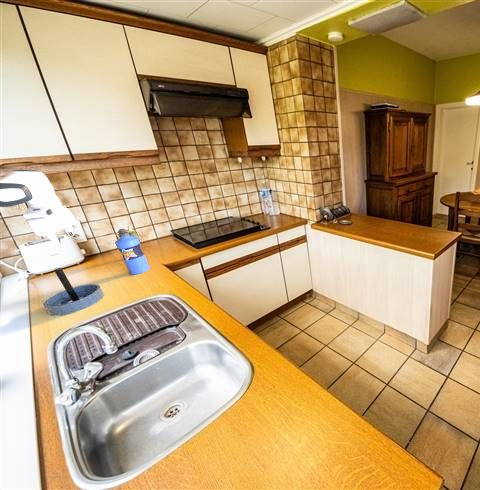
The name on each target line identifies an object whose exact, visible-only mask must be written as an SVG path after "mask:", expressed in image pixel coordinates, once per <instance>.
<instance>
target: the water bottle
mask: <svg viewBox="0 0 480 490" xmlns="http://www.w3.org/2000/svg"><path fill="white" fill-rule="evenodd" d="M117 233H118V234H117V235H118V239H117V240H115V241H114V244H115V246H116V248H117V249H118V251H119V253H121V255H122V259H123V262H124V264H125V266H126V269H127V270H128V272H129V274H130V275H131V276H135V275H140V274H143V273H146V272H148V271H150V269H151V267H150V264H149V262H148V260H147V257H146V255H145V253H144V251H143V249H142V250H141V248H140V244H141V243H140V244H139V240H140V239H139V240H138V238H137V237H135V236H129V231H128V229H126V228H119V230H118V231H117Z"/></svg>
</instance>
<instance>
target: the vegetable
mask: <svg viewBox="0 0 480 490" xmlns="http://www.w3.org/2000/svg"><path fill="white" fill-rule="evenodd" d="M127 232H129V236H135V237H137V238H138V240H139V244H140V248H141V250H142V251H143V246H142V244H141V240H140V236H139V235H138V233H137V232H136V231H134V230H133V229H132V228H131V226H130V225H129V226H127Z"/></svg>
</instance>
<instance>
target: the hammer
mask: <svg viewBox="0 0 480 490" xmlns="http://www.w3.org/2000/svg"><path fill="white" fill-rule="evenodd" d="M53 272H54V273H55V275H56V277H57V279H58V280H59V281H60V283H61V285H62V287H63V288H64V291H65V290H66V291H67V293H68V295H69V296H70V298H71V301H69V302H68V303H71V302H74V301H77V300H80V299H82V298H84V297H78V296H77V294H76V292H75V291H74V289H73V288H74V287H73V286H72V284H71V283H70V280H69V279H68V277H67V275H66V274H65V271H64V270H63V268H62V267H58V268H55V269H53Z"/></svg>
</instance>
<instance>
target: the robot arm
mask: <svg viewBox="0 0 480 490" xmlns="http://www.w3.org/2000/svg"><path fill="white" fill-rule="evenodd" d="M25 203H26V204H27V206H28V208H27V209H26V211H25V212H24V213H23V215H22V216H23V219H25V220H27V223H28V225H29V227H30V229H31V230H32V232H33V233H34V235H35V236H37V237H39V238H43V237H46V238H47V239H49V240H50V241H51V242H52V244H54V245H57V244H60V243H61V242H62V241H61V239H60V238H59V237H57V236H56V233H58V232H60V231H62V230H65V235H66V237H68V238H69V237H72V236H75V234H74V231H73V225H74V224H76V223H77V219H76V218H75V216H74V214H73V213H72V212H71V210H70V209H69V208H67V207H66V206H65V205H64V204H62V202H61V200H60V198H59V197H58V196H57V194H56V192H55V189H54V187H53V185H52V183H51V182H50V180H49V178H48V177H47V175H46V174H45V173H43V172H42V171H39V170H36V169H14V170H13V169H12V170H11V172H9V173H8V174H6V175H4V176H2V177H1V178H0V208H12V207H17V206H19V205H23V204H25Z"/></svg>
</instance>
